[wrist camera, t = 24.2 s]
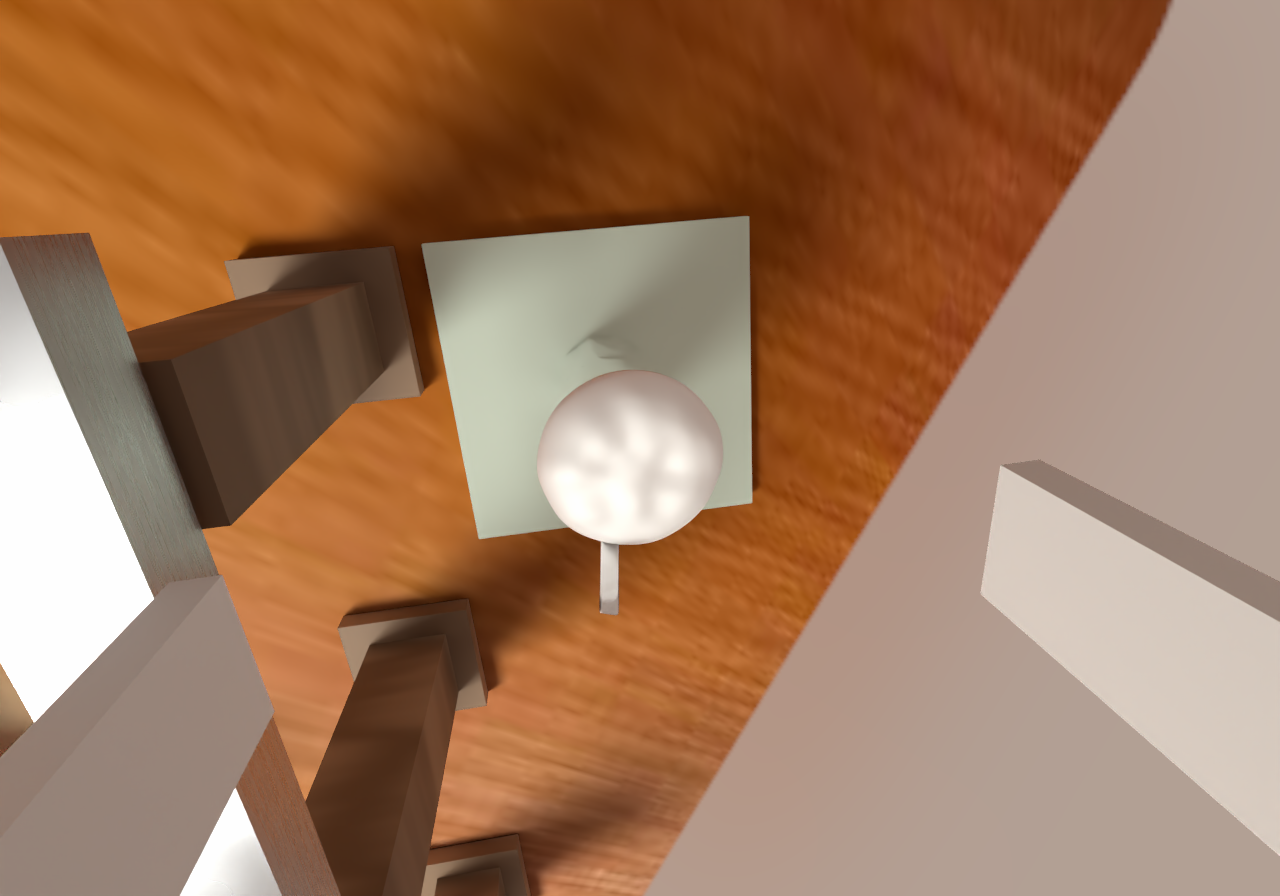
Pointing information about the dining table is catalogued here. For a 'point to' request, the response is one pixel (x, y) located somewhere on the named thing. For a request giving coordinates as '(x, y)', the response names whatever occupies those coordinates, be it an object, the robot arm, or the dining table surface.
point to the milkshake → (625, 452)
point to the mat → (570, 313)
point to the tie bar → (111, 536)
